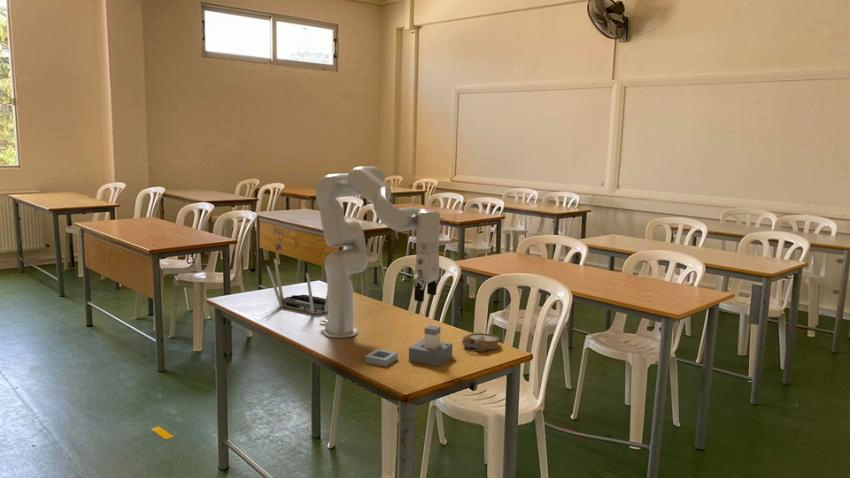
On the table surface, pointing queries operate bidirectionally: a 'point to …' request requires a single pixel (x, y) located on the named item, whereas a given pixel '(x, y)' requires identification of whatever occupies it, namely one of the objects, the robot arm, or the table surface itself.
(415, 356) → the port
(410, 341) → the table surface
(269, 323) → the table surface
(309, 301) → the wireless router
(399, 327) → the table surface
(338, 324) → the robot arm
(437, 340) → the plug
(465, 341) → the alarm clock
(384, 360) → the light grey square frame
